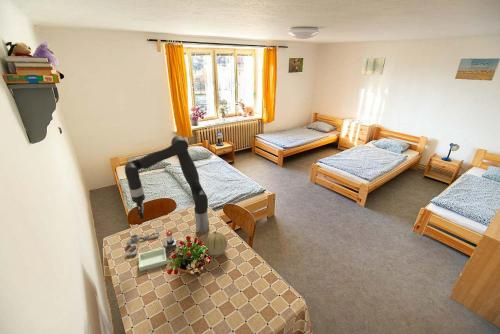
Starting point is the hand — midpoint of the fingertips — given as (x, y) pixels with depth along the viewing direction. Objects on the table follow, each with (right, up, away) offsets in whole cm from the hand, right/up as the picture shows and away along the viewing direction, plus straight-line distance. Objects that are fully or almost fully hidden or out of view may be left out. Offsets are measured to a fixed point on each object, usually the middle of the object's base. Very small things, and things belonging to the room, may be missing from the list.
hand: (142, 214), depth 157 cm
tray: (+8, -29, -2) cm, 31 cm away
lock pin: (+15, -24, +11) cm, 30 cm away
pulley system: (-8, -23, +13) cm, 27 cm away
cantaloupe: (+47, -27, +6) cm, 55 cm away
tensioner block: (+15, -24, +11) cm, 30 cm away
